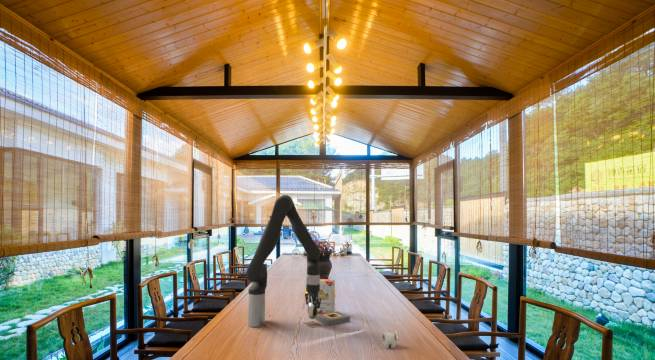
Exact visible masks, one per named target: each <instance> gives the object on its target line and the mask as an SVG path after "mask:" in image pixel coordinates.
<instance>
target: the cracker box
mask: <svg viewBox="0 0 655 360" xmlns="http://www.w3.org/2000/svg"><path fill="white" fill-rule="evenodd" d="M335 283H336V281H335V279H328V278H326V279H324V278H320V291H319V292H318V297H319V298H321V303H320V308H317V314H326V313H331V312H336V311H335V310H336V307H335V306H336V304H335V303H336V302H335V301H336V300H335V299H336V296H335V295H336V293H335V292H336V291H335V290H336V289H335V288H336V287H335V286H336V285H335Z"/></svg>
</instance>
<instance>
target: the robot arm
mask: <svg viewBox="0 0 655 360" xmlns="http://www.w3.org/2000/svg"><path fill="white" fill-rule="evenodd" d="M274 201H275V202H274V205H273V209H272V211H271V215H270V217H269V220H268V222H267V224H266V225H265V228H264V229H263V233H262V234H261V237H260V238H259V239H260V240H259V243H258V245H257V247H256V250H255V252H254V255H253V257H252V259H251V261H250V262H249V264H248V266H247V268H246V271H245V276H246V280H247V281H248V282H250V283H251V285H250V287H249V288H248V296H247V297H248V302H247V303H248V305H247V306H248V307H247V308H248V310H247V312H248V313H247V314H248V315H247V316H248V317H247V319H248V320H247V326H248V327H250V328H258V327H259V328H260V327H263V326H265V324H266V290H267V286H268V270H267V269H268V267H267V266H266V265H265V263H266V260H267V258H268V257H269V256H270V255H271V254H272V252H273V251H274V250H275V248H276V246H277V244H278V242H279V239H280V236H281V234H282V233H281V231H282V227H283V223H284V221H285V219H286V218H287V219H288V221H289V223H290V225H291V228H292V230H293V233H294V235H295V236H296V238H297V240H298V241H299V243H300V245H301V246H302V247H303V249H304V251H305V253H306V263H307V264H306V266H307V267H306V278H305V279H306V280H305V284H306V285H305V286H306V287H305V291H306V293H304V300H305V305H306V306H307V307H308V312H307V313H308V314H309V303H310V302H312V305H313V316H316V315H318V313H317V308H320V303H321V298H319V297H318V292H319V291H320V279H321V277H320V276H321V275H320V273H321V270H320V268H321V267H320V262H319V261H320V256H321V250H320V249H319V247H318V245H317V244H316V242H315V240H314V239H313V237H312V235H311V234H310V231H308V229H307V226H306V225H305V224H304V221H302V219H301V217H300V215H299V212H298V211H297V208H296V206H295V204H294V203H295V202H294V201H293V198H292V197H291V196H289V195H287V194H283V195H279V196H278V198H276V200H274ZM314 302H316V303H314Z"/></svg>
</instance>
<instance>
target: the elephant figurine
mask: <svg viewBox="0 0 655 360" xmlns="http://www.w3.org/2000/svg"><path fill="white" fill-rule="evenodd" d="M398 339H399V335H398V331H397V330H395V331H394V332H383V331H381V341H382V343H383V346H384V348H385V349H389V348H391V349H396V342H397V341H398Z"/></svg>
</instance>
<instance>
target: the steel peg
mask: <svg viewBox="0 0 655 360" xmlns="http://www.w3.org/2000/svg"><path fill="white" fill-rule="evenodd" d="M314 303H316V302H314ZM308 308H309V309H308V310H309V313H308V319H310V320H314V319H315V320H316V316H313V305H312V302H310V303H309V307H308Z"/></svg>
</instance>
